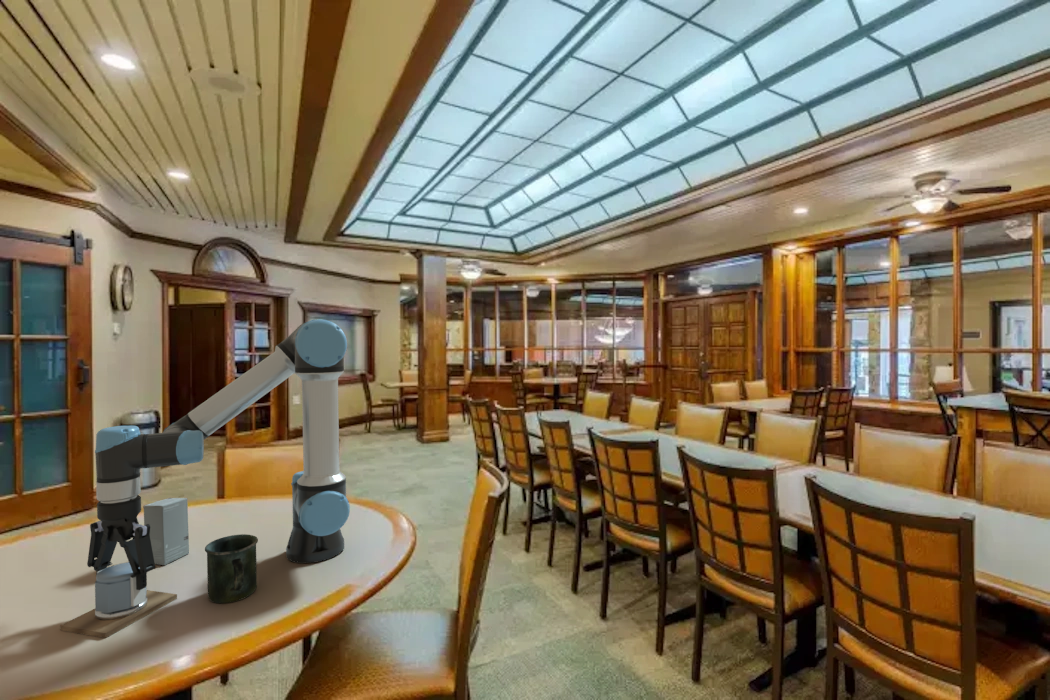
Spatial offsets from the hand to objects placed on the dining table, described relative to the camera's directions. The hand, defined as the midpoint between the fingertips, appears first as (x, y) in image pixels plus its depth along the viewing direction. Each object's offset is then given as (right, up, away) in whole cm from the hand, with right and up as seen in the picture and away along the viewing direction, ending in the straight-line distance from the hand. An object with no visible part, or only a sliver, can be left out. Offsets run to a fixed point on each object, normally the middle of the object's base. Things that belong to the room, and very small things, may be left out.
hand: (121, 600), depth 112 cm
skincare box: (-10, -2, +28) cm, 30 cm away
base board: (0, -3, 0) cm, 3 cm away
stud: (0, -3, 0) cm, 3 cm away
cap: (0, 0, 0) cm, 0 cm away
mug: (+20, -3, +7) cm, 22 cm away
